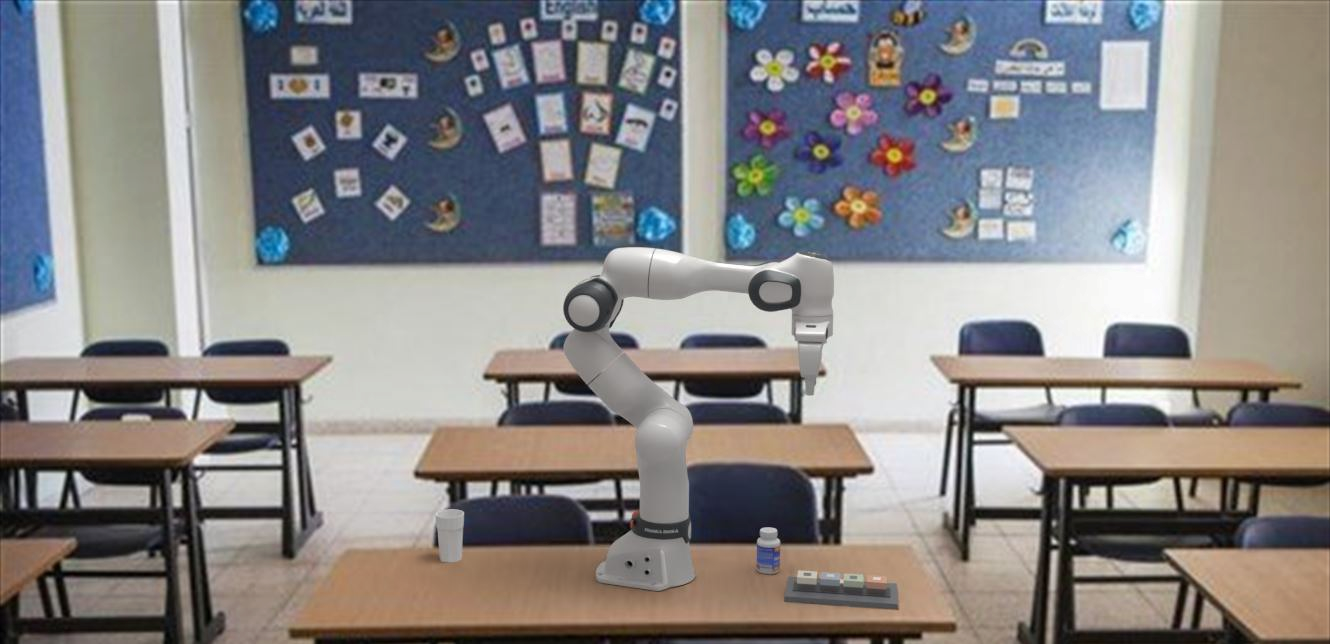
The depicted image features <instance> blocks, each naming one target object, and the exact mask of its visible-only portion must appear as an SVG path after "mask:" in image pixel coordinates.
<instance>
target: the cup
mask: <svg viewBox="0 0 1330 644" xmlns="http://www.w3.org/2000/svg"><path fill="white" fill-rule="evenodd" d="M464 522H465V511H463V510H462V509H461V510H460V509H453V508H452V509H451V508H450V509H442V510H439V511H436V512H435V526H436V529H437V538H438V539H437V541H438V551H439V560H440V561H441V562H443V563H448V564H450V563H456V562H460V561H461V560H462V559H463V541H464V540H463V536H464V527H465V526H464V525H465V523H464Z"/></svg>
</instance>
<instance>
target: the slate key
mask: <svg viewBox="0 0 1330 644" xmlns="http://www.w3.org/2000/svg"><path fill="white" fill-rule="evenodd" d="M819 578H820V585H829V586H840V579H841V573H840V572H827V571H821V572H820V577H819Z"/></svg>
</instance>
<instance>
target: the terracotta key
mask: <svg viewBox="0 0 1330 644" xmlns="http://www.w3.org/2000/svg"><path fill="white" fill-rule="evenodd" d="M887 578H888V577H887V575H876V574H875V575H874V574H867V575H866V581H867V588H873V589H887V583H888V581H887V580H888V579H887Z"/></svg>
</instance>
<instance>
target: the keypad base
mask: <svg viewBox="0 0 1330 644" xmlns="http://www.w3.org/2000/svg"><path fill="white" fill-rule="evenodd" d="M786 582H787V583H786V587H785V592H784V602H786V603H798V604H799V603H801V604H811V605H812V604H814V605H826V606H828V605H829V606H839V607H840V606H845V607H854V608H855V607H856V608H871V609H872V608H873V609H883V610H884V609H886V610H887V609H888V610H899V609H898V608H899V599H898V583H893V582H887V589H873V588H867V580H863V588H858V587H843V583H844V578H843V579H842V578H840V586H829V585H820V577H817V584H816V585H814V584H799V583H797V576H789V575H788V577H787V580H786Z"/></svg>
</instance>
